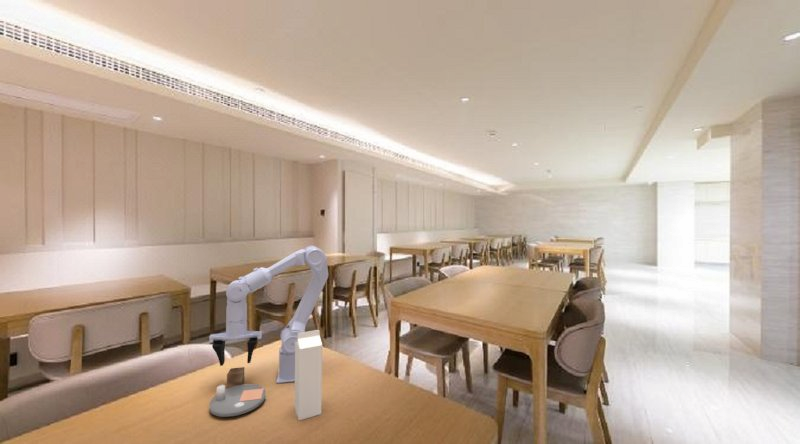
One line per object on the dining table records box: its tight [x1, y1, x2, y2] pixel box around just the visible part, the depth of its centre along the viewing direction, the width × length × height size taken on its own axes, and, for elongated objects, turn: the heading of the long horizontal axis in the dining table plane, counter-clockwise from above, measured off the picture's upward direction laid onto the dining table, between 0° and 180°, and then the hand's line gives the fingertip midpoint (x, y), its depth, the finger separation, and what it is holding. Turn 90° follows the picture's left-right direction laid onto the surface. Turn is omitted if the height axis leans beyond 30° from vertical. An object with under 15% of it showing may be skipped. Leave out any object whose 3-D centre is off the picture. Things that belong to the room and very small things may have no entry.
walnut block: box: [226, 366, 245, 389], centre depth 97 cm, size 4×4×5 cm
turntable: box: [208, 383, 266, 418], centre depth 88 cm, size 14×14×5 cm
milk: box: [293, 329, 323, 421], centre depth 85 cm, size 6×6×22 cm
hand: (235, 363), depth 97 cm, fingers open, 7 cm apart
